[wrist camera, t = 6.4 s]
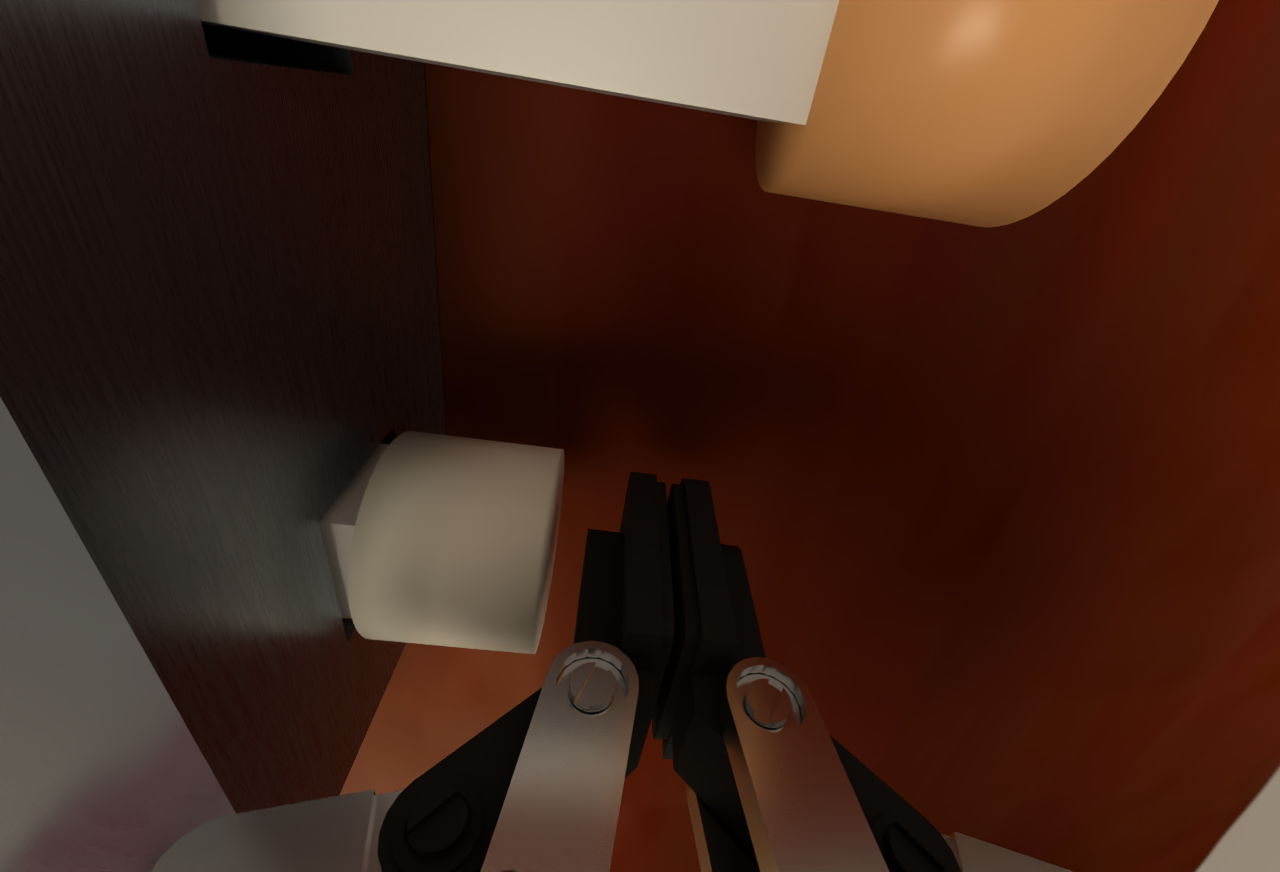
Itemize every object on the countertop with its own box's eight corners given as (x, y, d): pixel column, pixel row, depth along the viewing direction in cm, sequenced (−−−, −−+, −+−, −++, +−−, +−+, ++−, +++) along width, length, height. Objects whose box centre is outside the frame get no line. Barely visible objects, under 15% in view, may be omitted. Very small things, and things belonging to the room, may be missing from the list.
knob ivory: (569, 413, 11) (538, 545, 8) (557, 548, 13) (529, 699, 10) (15, 343, 10) (-289, 456, 7) (96, 499, 12) (-107, 645, 9)
